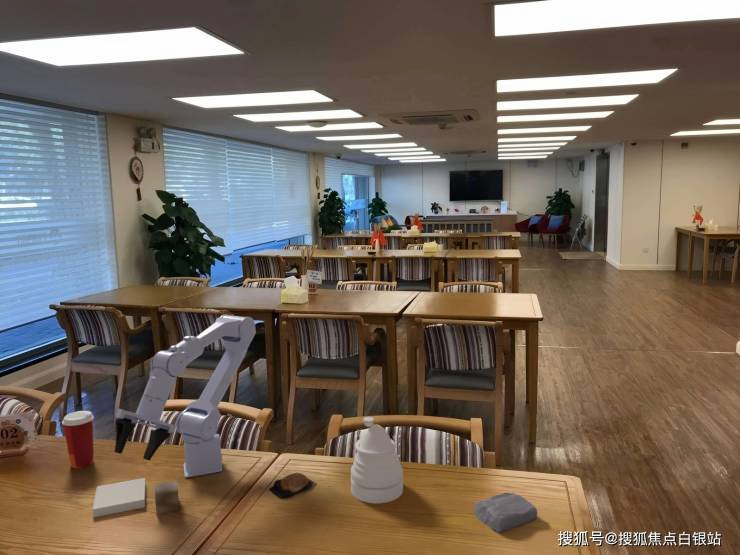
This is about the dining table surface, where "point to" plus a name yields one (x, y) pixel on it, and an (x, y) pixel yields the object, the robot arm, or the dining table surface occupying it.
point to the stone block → (505, 511)
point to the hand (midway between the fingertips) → (132, 456)
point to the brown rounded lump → (291, 485)
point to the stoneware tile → (119, 497)
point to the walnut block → (166, 497)
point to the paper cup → (79, 438)
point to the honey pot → (376, 467)
